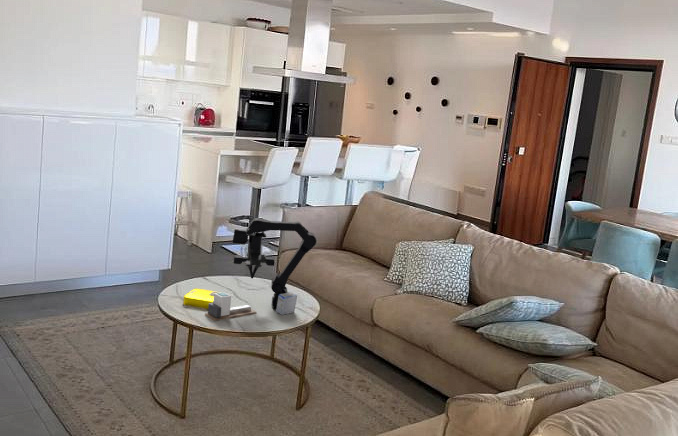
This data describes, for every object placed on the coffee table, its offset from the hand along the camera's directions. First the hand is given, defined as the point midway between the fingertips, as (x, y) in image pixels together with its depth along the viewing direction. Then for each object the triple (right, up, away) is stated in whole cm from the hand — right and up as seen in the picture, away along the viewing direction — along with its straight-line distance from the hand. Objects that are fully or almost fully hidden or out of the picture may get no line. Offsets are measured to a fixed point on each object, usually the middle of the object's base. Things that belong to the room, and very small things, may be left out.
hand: (251, 278), depth 319 cm
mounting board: (-8, -15, -13) cm, 21 cm away
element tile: (-22, -12, -2) cm, 25 cm away
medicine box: (+16, -16, -2) cm, 22 cm away
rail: (-8, -14, -13) cm, 21 cm away
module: (-11, -14, -17) cm, 25 cm away
